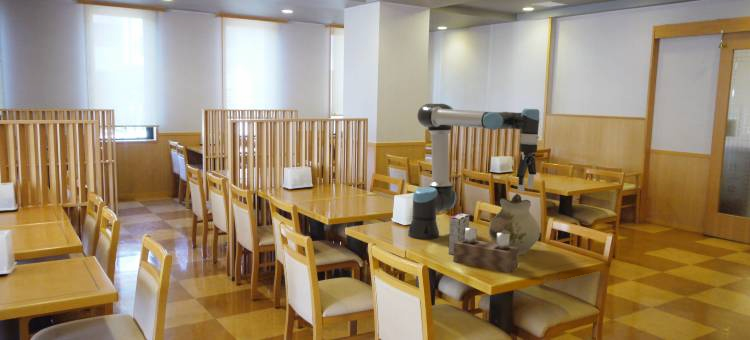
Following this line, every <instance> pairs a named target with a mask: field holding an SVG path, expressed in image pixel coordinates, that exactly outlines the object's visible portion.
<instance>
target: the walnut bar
mask: <svg viewBox="0 0 750 340" xmlns="http://www.w3.org/2000/svg"><path fill="white" fill-rule="evenodd" d="M464 240H465V238H464V239H462V240H460V241H457V242H455V243H454V255H453V259H452V260H453V261H452V262H454V263H458V264H463V265H469V266H474V267H479V268H484V269H488V270H494V271H498V272H504V273H511V272H512V271H513V270H516V269H517V268H518V266H519V255H518V253H519V248H517V247H511V246H509V250H507V251H505V250H499V249H496V244H495V243H494V242H488V241H482V240H477V244H475V245H471V244H466V243H464Z"/></svg>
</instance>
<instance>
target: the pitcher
mask: <svg viewBox="0 0 750 340" xmlns="http://www.w3.org/2000/svg"><path fill="white" fill-rule="evenodd" d="M499 205H501V209H500V211H499V212H497V214H496V215H495V216H494V217H493V218H492V219H491V220H490V223H489V225H488V234H489V237H490V239H491V240H492V243H494V244H496V241H497V233H498V232H506V233H509V234H510V237H509V246H511V247H517V248H519V253H518V256H520V255H526V254H527V253H528V251H529V250H530V249H531V248H532V247H533V246H534V245H535V244H536V243H537V242H538V240H539V238H540V235H541V227H540V225H539V222H538V221H537V220H536V218H535V217H534V216H533V215H532V213H531V211H530V208H531V205H532V202H531V201H530V200H529V199H523V200H522V196H521V195H520V194H518V193H516V194H515V195H513V197H511V200H509V199H507V198H504V197H502V198H500V200H499Z"/></svg>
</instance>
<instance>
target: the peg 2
mask: <svg viewBox="0 0 750 340" xmlns="http://www.w3.org/2000/svg"><path fill="white" fill-rule="evenodd" d="M509 237H510V234H509V233H506V232H498V233H497V241H496V249H499V250H505V251H507V250H509Z"/></svg>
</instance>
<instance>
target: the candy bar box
mask: <svg viewBox="0 0 750 340" xmlns="http://www.w3.org/2000/svg"><path fill="white" fill-rule="evenodd" d="M466 227H470V214H469V213H467V214H466V213H459V214H456V215H453V216H451V217H449V234H448V235H449V239H448V241H449V242H448V254H449V255H452V256H454V243H455V242H457V241H460V240H462V239H464V238H465V228H466Z"/></svg>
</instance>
